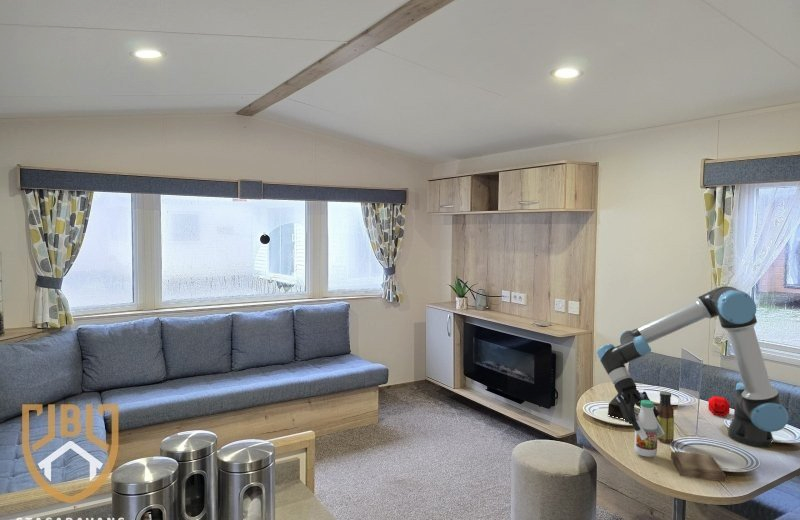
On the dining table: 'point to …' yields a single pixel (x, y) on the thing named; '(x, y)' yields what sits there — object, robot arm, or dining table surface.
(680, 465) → the podium
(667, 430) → the sauce bottle
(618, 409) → the dark brown block
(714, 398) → the ball
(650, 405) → the milk bottle
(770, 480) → the dining table surface
